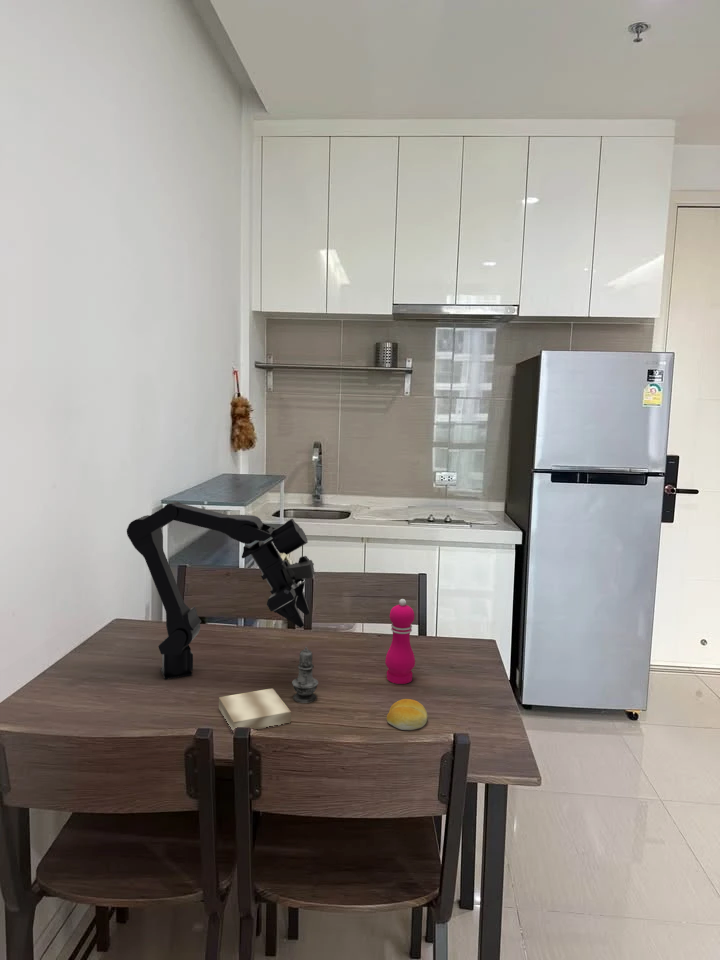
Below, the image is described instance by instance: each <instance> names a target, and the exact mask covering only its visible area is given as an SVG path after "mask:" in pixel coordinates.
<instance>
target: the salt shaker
mask: <svg viewBox="0 0 720 960" xmlns="http://www.w3.org/2000/svg"><path fill="white" fill-rule="evenodd" d="M298 663H299V664H298V665H297V668H298V676H297V678H294V679H293V680H292V682H291V685H292V686H293V689H294V691H295V692H296V693H295V694H294V695H293V697H292V699H293V701H295V702H297V703H300V704H309V703H312V702H314V701H316V700H317V695H316V694H315V693H314V692H316V690H317V688H318V685H319V680H318V679H317V678H314V677H313V668H315V665H314V664H313V652H312V651H311V650H309V648H308V646H305V647H304V649H302V650H301V651H300V652H299V662H298Z"/></svg>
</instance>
